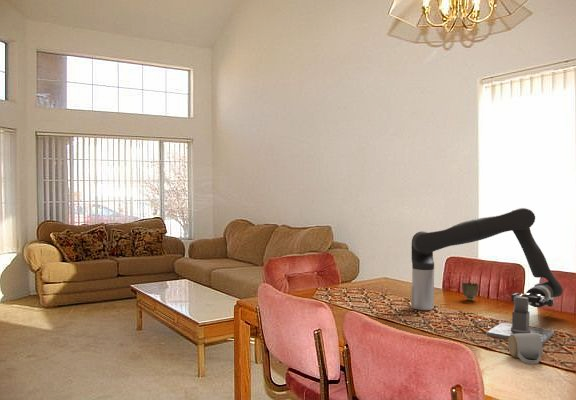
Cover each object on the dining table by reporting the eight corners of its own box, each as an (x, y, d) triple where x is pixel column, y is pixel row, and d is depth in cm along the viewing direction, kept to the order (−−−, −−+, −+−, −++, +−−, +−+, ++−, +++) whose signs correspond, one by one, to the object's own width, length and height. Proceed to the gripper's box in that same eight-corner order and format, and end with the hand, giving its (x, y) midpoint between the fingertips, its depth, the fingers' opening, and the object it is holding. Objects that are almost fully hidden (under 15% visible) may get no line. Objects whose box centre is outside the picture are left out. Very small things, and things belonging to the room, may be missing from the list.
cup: (479, 302, 237) (479, 285, 237) (462, 301, 238) (463, 284, 238) (476, 299, 244) (477, 282, 244) (460, 298, 246) (461, 281, 245)
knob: (512, 328, 183) (512, 297, 183) (515, 326, 186) (516, 295, 186) (525, 331, 180) (526, 298, 180) (529, 328, 183) (529, 296, 183)
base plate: (486, 335, 182) (487, 320, 181) (501, 325, 196) (502, 311, 196) (542, 345, 170) (542, 329, 170) (553, 334, 184) (554, 319, 184)
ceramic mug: (506, 353, 162) (506, 329, 161) (533, 354, 161) (533, 329, 161) (518, 365, 151) (519, 339, 151) (547, 366, 150) (548, 340, 150)
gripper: (519, 284, 207) (507, 290, 194) (558, 288, 198) (548, 295, 186) (519, 302, 207) (507, 309, 195) (558, 308, 198) (548, 315, 186)
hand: (527, 302), depth 190 cm, fingers open, 8 cm apart
